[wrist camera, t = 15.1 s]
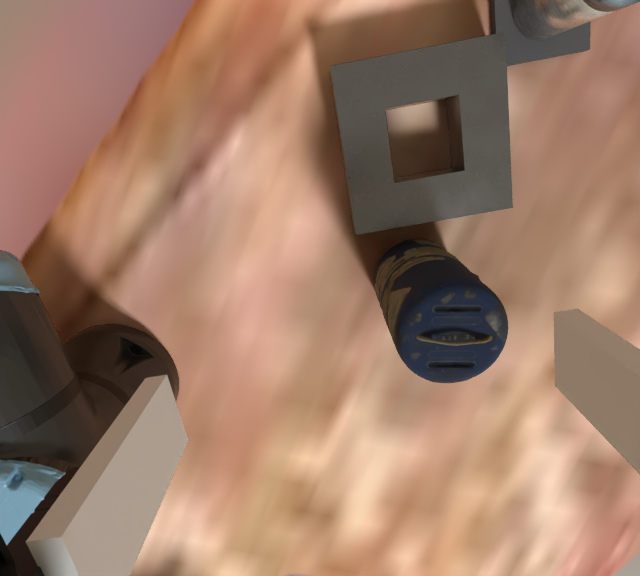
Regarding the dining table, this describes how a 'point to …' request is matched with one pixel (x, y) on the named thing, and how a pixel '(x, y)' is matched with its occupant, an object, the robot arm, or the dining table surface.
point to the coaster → (533, 50)
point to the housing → (464, 131)
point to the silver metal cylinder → (560, 15)
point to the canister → (439, 312)
